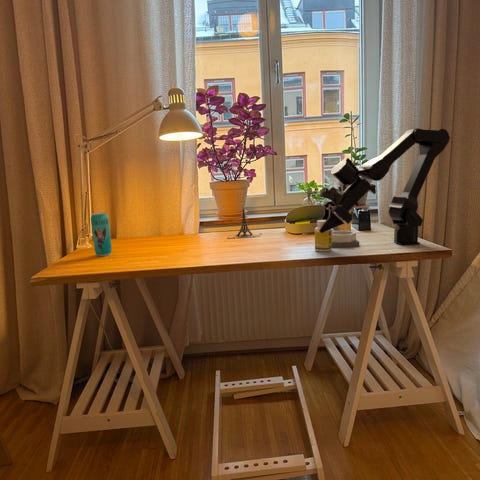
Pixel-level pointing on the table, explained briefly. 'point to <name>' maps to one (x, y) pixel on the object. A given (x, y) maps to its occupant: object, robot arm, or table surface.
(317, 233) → the supplement bottle
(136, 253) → the table surface
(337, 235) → the lens mount
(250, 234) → the eiffel tower figurine
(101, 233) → the beverage can
